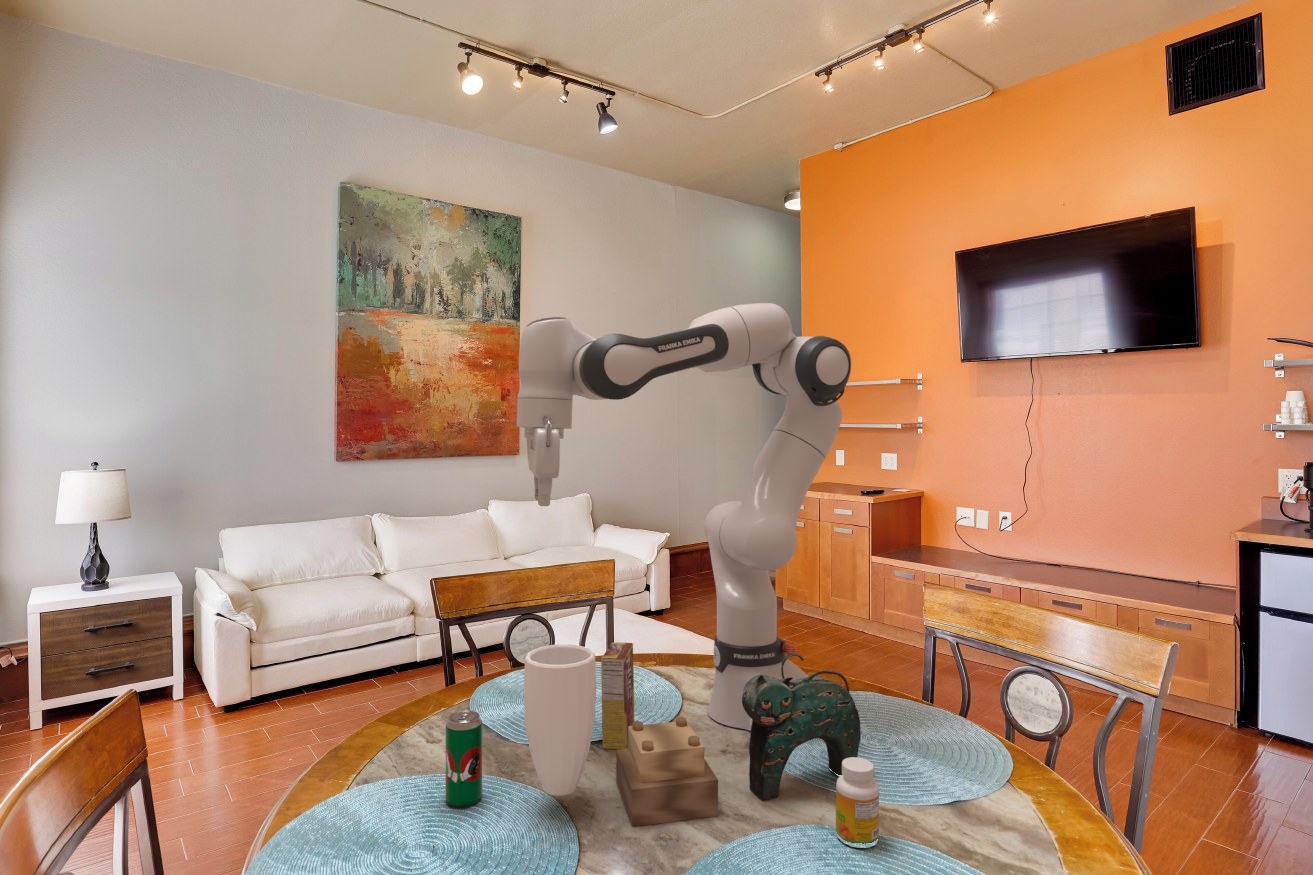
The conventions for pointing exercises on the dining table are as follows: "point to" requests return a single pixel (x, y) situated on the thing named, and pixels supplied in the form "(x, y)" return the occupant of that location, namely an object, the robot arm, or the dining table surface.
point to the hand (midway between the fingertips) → (541, 502)
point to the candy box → (617, 694)
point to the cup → (559, 713)
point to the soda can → (463, 758)
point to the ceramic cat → (796, 724)
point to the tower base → (665, 795)
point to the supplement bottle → (857, 802)
